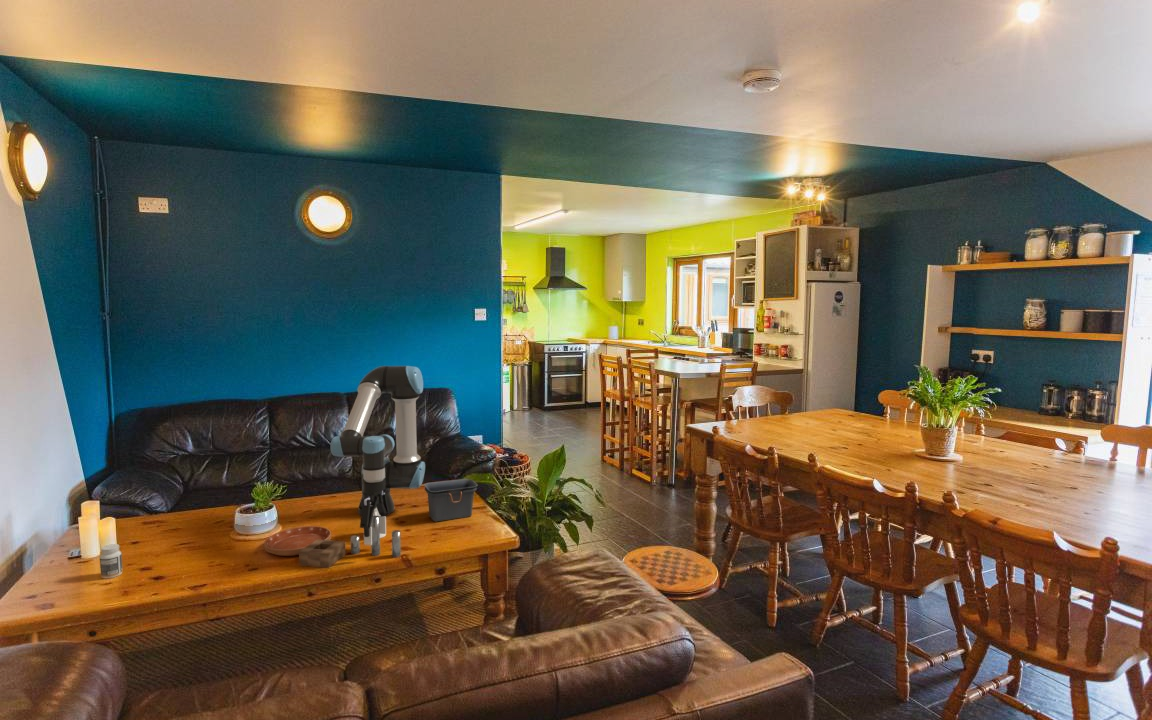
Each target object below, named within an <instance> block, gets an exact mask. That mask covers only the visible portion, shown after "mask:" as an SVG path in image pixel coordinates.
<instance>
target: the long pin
mask: <svg viewBox="0 0 1152 720" xmlns="http://www.w3.org/2000/svg"><path fill="white" fill-rule="evenodd" d="M371 527H372V545H370V549H371V556H373V557H376V556H380V555H381V538H380V524H379V516H373V518H372V522H371Z"/></svg>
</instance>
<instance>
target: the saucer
mask: <svg viewBox="0 0 1152 720" xmlns="http://www.w3.org/2000/svg"><path fill="white" fill-rule="evenodd" d="M317 539H318V540H331V539H332V532H331V530H330V529H329V528H327V527H324V526H318V525H317V526H316V525H315V526H313V525H309V526H307V525H306V526H297V527H292V528H288V529H284V530H281V531H278V532H276V533H273V534H272V535H270V536H268V537H267V538H266V539H265V540H264V543H263V545H264V551H266V552H267V553H269V554H272V555H275V556H279V557H280V556H281V557H291V556H293V557H294V556H299V551H301V550H302V549H304V548H305V547H307V546H308V545H310V544H311V543H313V542H314V541H316V540H317Z"/></svg>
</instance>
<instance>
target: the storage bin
mask: <svg viewBox="0 0 1152 720" xmlns="http://www.w3.org/2000/svg"><path fill="white" fill-rule="evenodd" d="M423 486H424V491H425V492H426V493H427V503H428V514H429V517H430V518H431V520H432V521H433V522H436V523H437V522H442V521H449V520H455V519H464V518H469V517H471V516H472V514H473V506H474V505H473V504H474V495H475V492H476V491H477V489H478V488H477V487H478V483H477V482H475V481H474V480H473V479H471V478H460V479H452V480H441V481H434V482H433V481H432V482H426V483H424V484H423Z"/></svg>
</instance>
